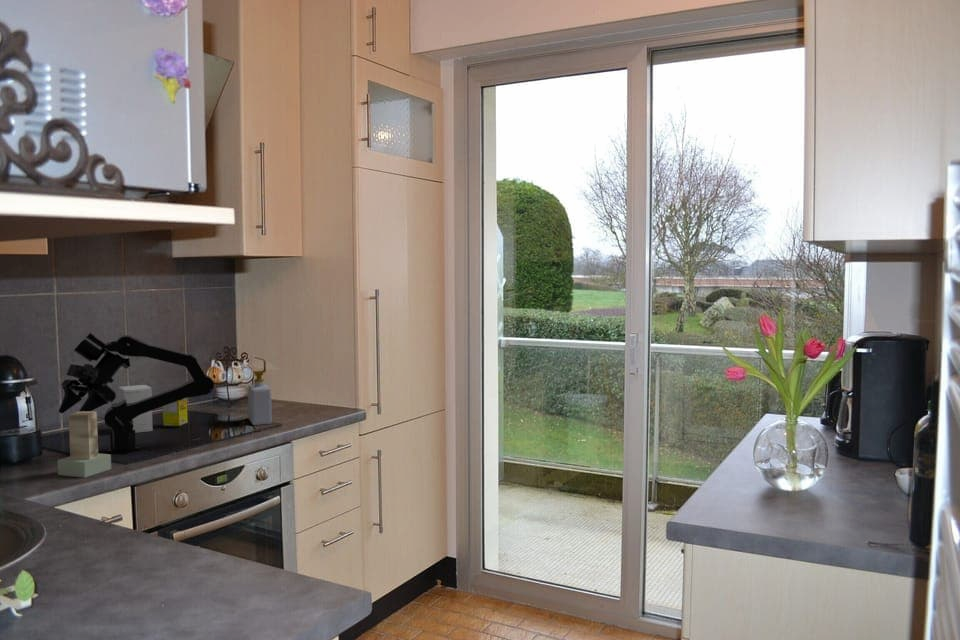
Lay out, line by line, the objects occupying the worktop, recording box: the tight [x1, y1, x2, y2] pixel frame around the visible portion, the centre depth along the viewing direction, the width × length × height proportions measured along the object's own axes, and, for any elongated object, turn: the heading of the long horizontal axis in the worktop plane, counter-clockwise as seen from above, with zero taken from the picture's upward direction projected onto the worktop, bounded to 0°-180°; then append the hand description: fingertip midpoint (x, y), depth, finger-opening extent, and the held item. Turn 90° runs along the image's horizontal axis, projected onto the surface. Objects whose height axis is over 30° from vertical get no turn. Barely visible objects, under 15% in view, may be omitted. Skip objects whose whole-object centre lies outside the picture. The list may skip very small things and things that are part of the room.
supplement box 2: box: [117, 384, 153, 434], centre depth 256 cm, size 9×9×15 cm
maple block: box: [68, 410, 99, 460], centre depth 203 cm, size 5×5×12 cm
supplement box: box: [162, 398, 189, 429], centre depth 263 cm, size 6×6×11 cm
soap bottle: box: [247, 356, 273, 426], centre depth 270 cm, size 12×7×23 cm, turn 24°
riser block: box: [57, 452, 112, 478], centre depth 204 cm, size 9×9×4 cm
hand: (69, 414), depth 214 cm, fingers open, 9 cm apart
